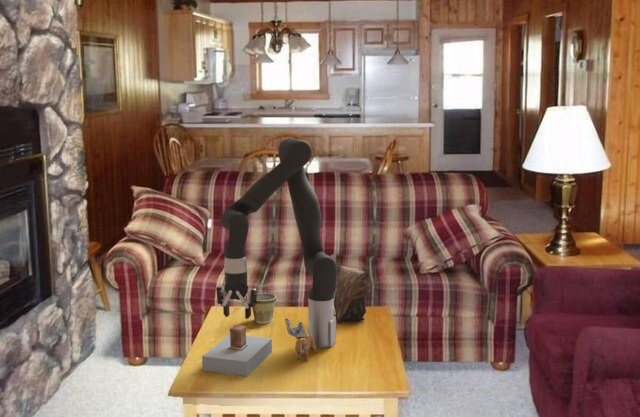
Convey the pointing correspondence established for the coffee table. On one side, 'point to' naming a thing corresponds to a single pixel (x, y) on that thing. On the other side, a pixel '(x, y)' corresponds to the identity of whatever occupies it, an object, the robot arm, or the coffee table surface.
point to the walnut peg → (238, 337)
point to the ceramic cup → (264, 308)
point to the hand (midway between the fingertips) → (237, 317)
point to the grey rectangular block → (237, 356)
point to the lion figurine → (304, 347)
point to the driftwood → (296, 329)
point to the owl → (350, 295)
